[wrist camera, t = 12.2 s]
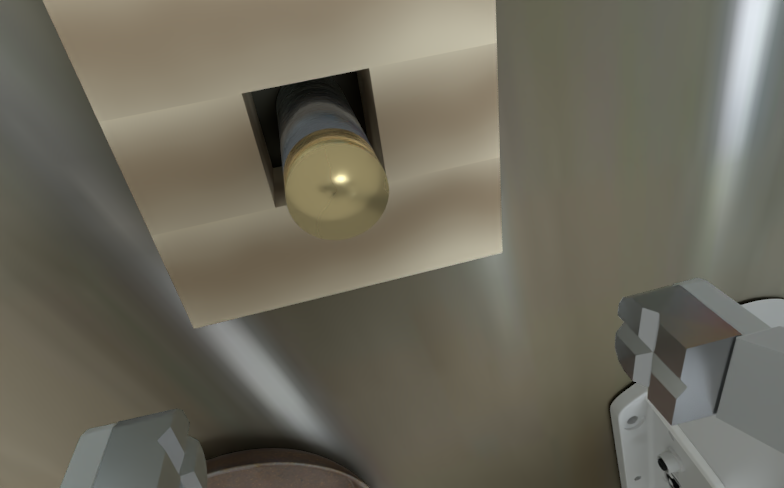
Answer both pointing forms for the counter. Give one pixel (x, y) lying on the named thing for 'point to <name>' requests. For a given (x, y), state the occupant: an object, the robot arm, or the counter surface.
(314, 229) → the grey and gold cylinder
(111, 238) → the counter surface
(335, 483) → the plant saucer
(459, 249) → the block
